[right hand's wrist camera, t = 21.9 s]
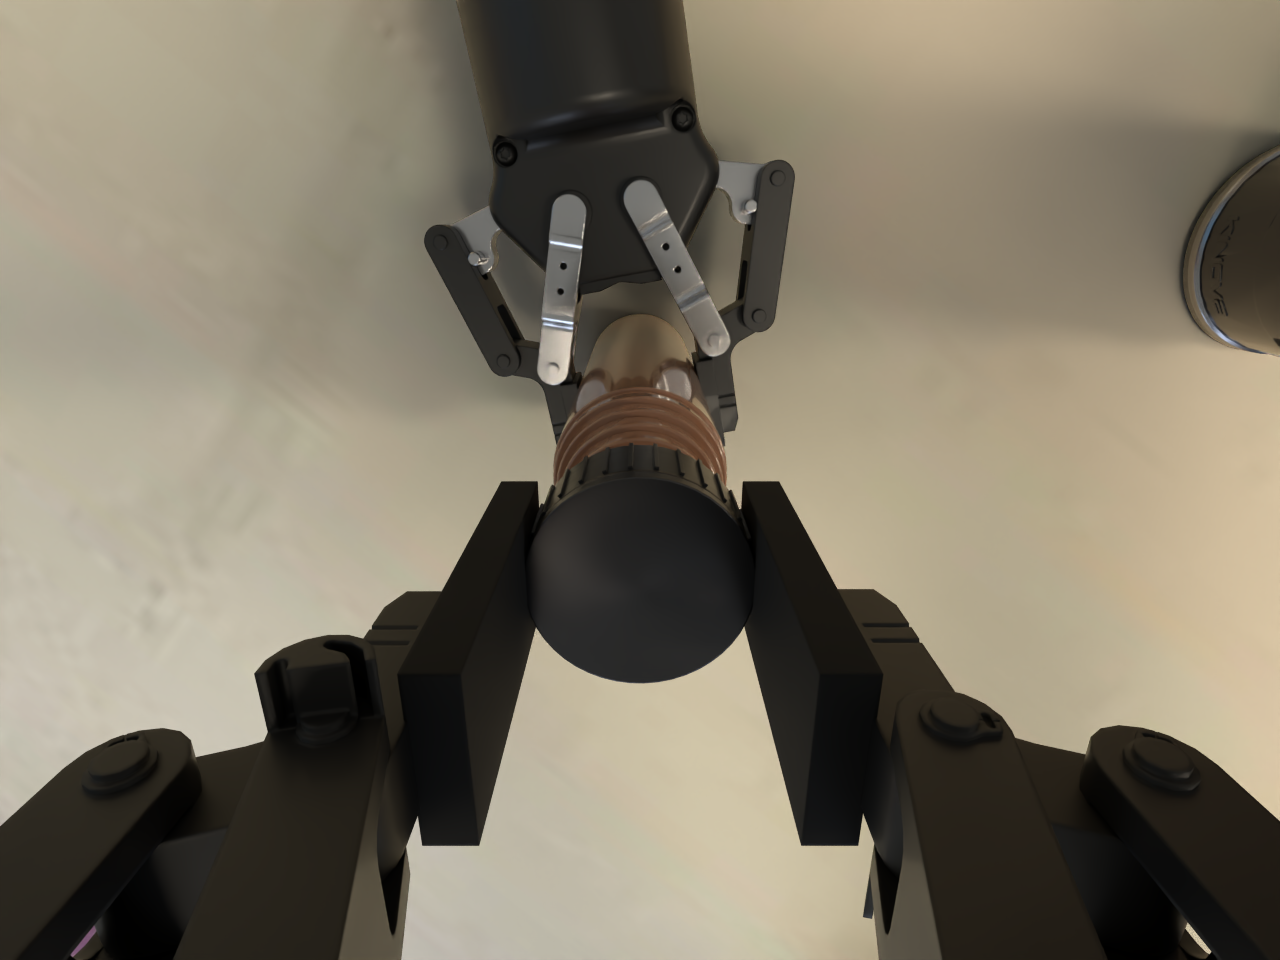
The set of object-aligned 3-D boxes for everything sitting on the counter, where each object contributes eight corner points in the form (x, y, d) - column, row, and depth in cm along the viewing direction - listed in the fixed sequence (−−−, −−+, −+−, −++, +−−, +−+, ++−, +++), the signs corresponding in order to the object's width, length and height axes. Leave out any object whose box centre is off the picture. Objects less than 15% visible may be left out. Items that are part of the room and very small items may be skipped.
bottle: (609, 421, 35) (566, 694, 14) (578, 331, 33) (482, 495, 13) (699, 393, 34) (785, 637, 14) (672, 300, 33) (725, 423, 12)
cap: (573, 409, 14) (562, 438, 12) (779, 483, 14) (800, 521, 12) (509, 595, 15) (490, 646, 13) (698, 655, 16) (705, 712, 14)
